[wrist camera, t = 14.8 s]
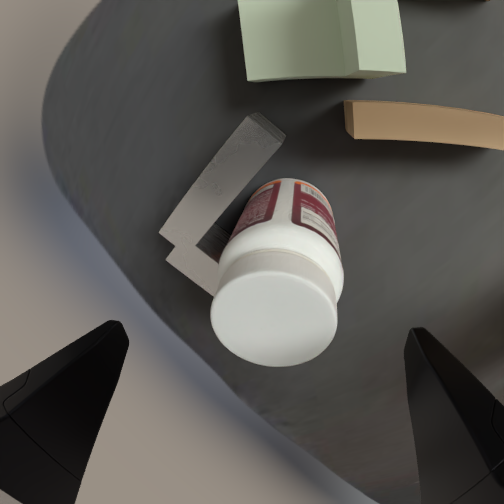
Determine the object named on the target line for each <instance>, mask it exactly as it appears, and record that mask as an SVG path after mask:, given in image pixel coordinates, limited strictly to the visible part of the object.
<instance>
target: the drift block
mask: <svg viewBox="0 0 504 504" xmlns="http://www.w3.org/2000/svg"><path fill="white" fill-rule="evenodd" d="M238 6H239V14H240V22H241V30H242V39H243V47H244V56H245V64H246V73H247V81H251V82H263V81H275V80H290V79H311V78H364V79H373V78H378V77H384V76H389V75H395V74H402V73H406V64H405V53H404V44H403V35H402V28H401V21H400V14H399V8H398V2H397V0H238Z"/></svg>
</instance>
